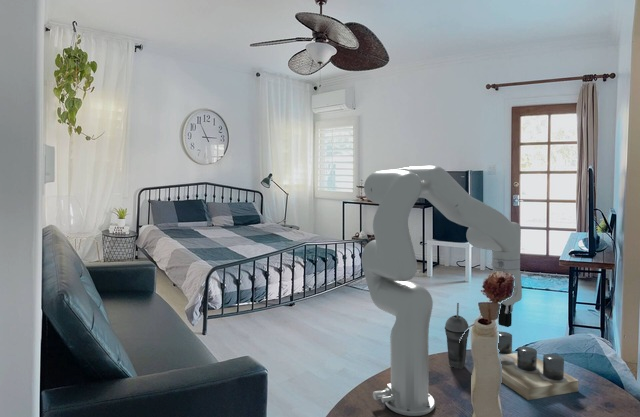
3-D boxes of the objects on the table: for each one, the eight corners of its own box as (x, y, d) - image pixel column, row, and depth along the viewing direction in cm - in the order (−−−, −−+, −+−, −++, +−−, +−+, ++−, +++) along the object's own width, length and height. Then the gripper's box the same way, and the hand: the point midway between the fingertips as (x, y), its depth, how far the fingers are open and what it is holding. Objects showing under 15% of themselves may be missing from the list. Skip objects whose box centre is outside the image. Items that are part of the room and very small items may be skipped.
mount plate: (528, 400, 112) (528, 388, 112) (480, 367, 132) (480, 357, 131) (578, 391, 117) (578, 379, 116) (525, 360, 136) (525, 351, 136)
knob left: (501, 355, 126) (501, 338, 126) (490, 348, 131) (490, 332, 131) (515, 353, 127) (515, 336, 127) (504, 346, 132) (504, 330, 132)
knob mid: (525, 372, 121) (526, 354, 120) (513, 364, 126) (513, 347, 125) (540, 369, 122) (541, 352, 122) (527, 362, 127) (528, 345, 127)
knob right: (552, 381, 115) (553, 362, 115) (538, 372, 120) (539, 355, 120) (568, 378, 117) (568, 360, 116) (553, 370, 121) (554, 353, 121)
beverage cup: (466, 360, 137) (466, 298, 135) (471, 371, 130) (472, 305, 128) (442, 360, 138) (442, 298, 136) (446, 370, 130) (447, 305, 129)
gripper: (505, 269, 119) (504, 335, 120) (530, 262, 129) (529, 322, 130) (480, 265, 125) (479, 328, 126) (506, 258, 134) (505, 316, 136)
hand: (504, 325), depth 128 cm, fingers closed
